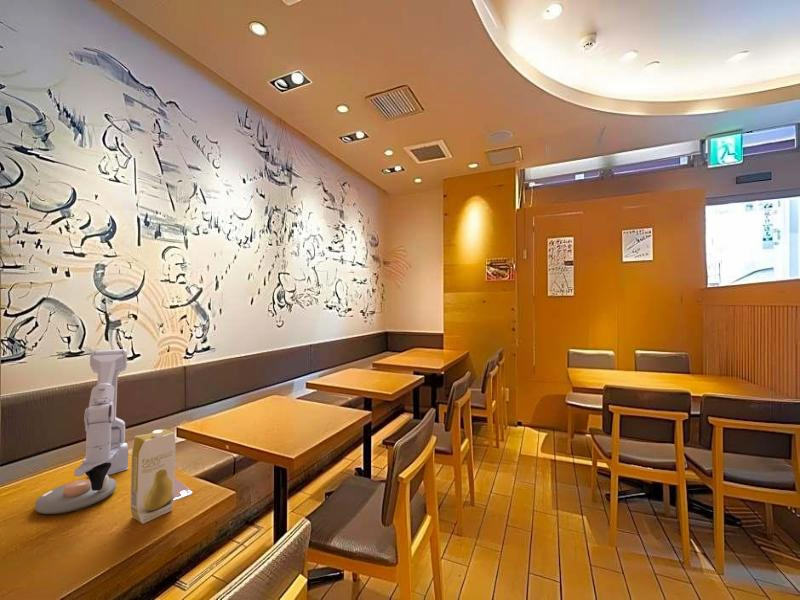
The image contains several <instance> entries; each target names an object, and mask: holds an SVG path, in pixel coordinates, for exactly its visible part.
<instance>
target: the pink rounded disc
mask: <svg viewBox="0 0 800 600" xmlns="http://www.w3.org/2000/svg"><path fill="white" fill-rule="evenodd" d="M66 484H67V485H65V484H64V485H65V486H64V490H63V497H65V498H71V497H76V496H80V495H82V494H85V493H87V492H88V491H89V490H90V480H89V478H83V479H82V478H81V479H78V480H74V481H71V482H69V483H66Z"/></svg>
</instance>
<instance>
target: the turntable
mask: <svg viewBox="0 0 800 600" xmlns="http://www.w3.org/2000/svg"><path fill="white" fill-rule="evenodd" d="M88 479H89V478H88ZM89 480H90V479H89ZM67 484H68V483H65V484H63V485H61V486H57V487H54V488H53V489H51V490H49V491H46V492H45V493H43V494H42V495H41V496H39V497H38V498H37V499H36V500H35V503H34V510H35V511H36V512H37V513H39V514H42V515H45V514H46V515H53V514H54V515H55V514H56V513H59V514H64V513H63V512H67V513H69V512H68V511H71V512H73V511H72V510H75V511H77V510H76V509H79V510H81V509H80V508H82V509H84V508H83V507H85V508H87V507H86V506H88V507H90V506H92V505H94V503H95V504H97V503H99V502H100V501H102V500H104V499H106V498H107V497H109V496H110V495H111V494H112V493H113V492H115V490H116V487H117V480H115V479H114V478H112V477H110V475H106V476H105V479H104V481H103V487H102V489H101V490H95V491H92V488H91V482H90V490H89V491H88V492H87V493H85V494H82V495H80V496H76V497H71V498H65V497H63V490H64V486H65V485H67ZM91 504H92V505H91ZM89 505H90V506H89Z"/></svg>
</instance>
